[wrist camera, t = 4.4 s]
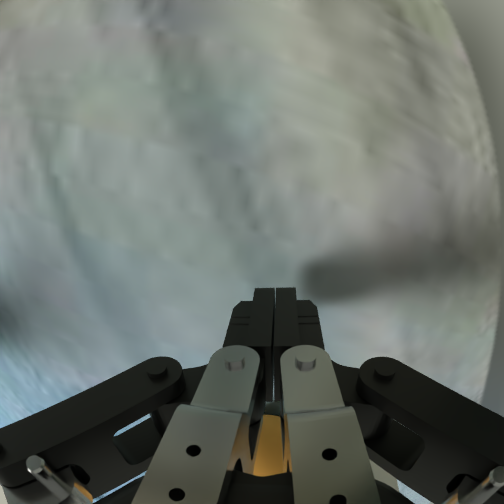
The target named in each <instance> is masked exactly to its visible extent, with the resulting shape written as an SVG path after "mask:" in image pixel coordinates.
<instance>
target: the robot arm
mask: <svg viewBox="0 0 504 504" xmlns="http://www.w3.org/2000/svg"><path fill="white" fill-rule="evenodd" d="M273 381H274V398H275V401H280V429H281V444H282V460H283V473H280V474H275V475H270V476H256V475H253V472H254V464H255V459H256V455H257V450H258V445H259V440H260V434H261V429H262V424H263V414H264V411H265V401H267V402H272V400H273ZM147 414H150V416H151V417H150V418H148V419H147V420H145V421H143V422H141V423H140V424H138V425H136V426H134V427H132V428H131V429H129V430H127V431H125V432H123V433H121V434H120V435H118V436H114V434H115V433H116V432H117V431H118V430H120V429H122V428H124V427H126V426H127V425H129V424H131V423H133V422H135V421H137V420H138V419H140V418H142V417H144V416H145V415H147ZM395 420H396V421H395ZM398 422H399V423H398ZM401 424H402V425H401ZM406 427H407V428H406ZM409 429H410V430H409ZM412 431H413V432H412ZM417 434H418V435H417ZM369 459H370V460H371V461H373V462H374V463H375V464H377V465H378V466H379V467H381V468H382V469H384V470H385V471H386V472H388V473H389V474H391V475H392V476H393V477H395V478H396V479H398V480H399V481H401V482H402V483H404V484H405V485H406V486H408V487H409V488H411V489H412V490H414V491H415V492H417V493H419V494H420V495H422V496H423V497H425V498H426V499H428V500H429V501H431V502H433V503H434V504H504V417H502V416H500V415H498V414H497V413H495V412H492V411H491V410H489V409H487V408H485V407H483V406H481V405H479V404H477V403H475V402H474V401H472V400H470V399H468V398H466V397H464V396H462V395H460V394H458V393H457V392H455V391H453V390H451V389H449V388H447V387H445V386H443V385H442V384H440V383H438V382H436V381H434V380H432V379H431V378H429V377H427V376H425V375H423V374H421V373H420V372H418V371H416V370H414V369H412V368H410V367H409V366H407V365H405V364H403V363H401V362H400V361H398V360H396V359H393V358H389V357H375V358H371V359H369V360H367V361H365V362H364V363H363V364H362V365H361V367H360V369H359V368H352V367H347V366H342V365H339V364H337V363H335V362H334V361H332V360H331V358H330V356H329V354H328V353H327V352H326V351H325V349H324V343H323V337H322V332H321V326H320V321H319V317H318V310H317V307H316V306H315V305H314V304H313V303H312V302H311V301H310V300H297V299H296V288H295V287H293V288H276V303H275V288H255V291H254V297H253V301H241V302H240V303H238V304H237V305H236V306H235V307H234V308H233V311H232V315H231V319H230V322H229V326H228V329H227V333H226V337H225V340H224V344H223V348H221V349H219V350H218V351H216V352H215V353H214V354H213V355H212V357H211V358H210V361H209V363H208V364H206V365H204V366H200V367H195V368H188V369H182V367H181V365H180V363H179V362H178V361H177V360H175V359H173V358H170V357H154V358H151V359H148V360H146V361H144V362H142V363H140V364H138V365H136V366H134V367H132V368H130V369H128V370H126V371H124V372H122V373H120V374H118V375H116V376H114V377H112V378H110V379H108V380H106V381H104V382H102V383H100V384H98V385H96V386H94V387H91V388H89V389H87V390H85V391H83V392H81V393H79V394H77V395H75V396H73V397H70V398H68V399H66V400H64V401H62V402H60V403H58V404H55V405H53V406H51V407H49V408H47V409H44V410H42V411H40V412H38V413H35V414H33V415H31V416H29V417H26V418H24V419H22V420H19V421H17V422H15V423H12V424H10V425H8V426H5V427H3V428H0V485H1V486H2V487H3V490H4V493H5V496H6V499H7V502H8V504H92V502H93V499H94V498H96V497H98V496H100V495H102V494H104V493H106V492H108V491H110V490H112V489H114V488H116V487H118V486H120V485H122V484H123V483H125V482H127V481H129V480H131V479H132V478H134V477H136V476H138V475H140V474H141V473H143V472H145V471H146V470H147V471H146V473H145V476H142V477H140V478H138V479H135V480H134V481H132V482H130V483H128V484H127V485H125V486H123V487H122V488H120V489H118V490H116V491H115V492H113V493H111V494H109V495H108V496H106V497H104V498H102V499H100V500H99V501H97V502H95V503H93V504H414V503H413V502H412V501H410V500H409V499H408V498H406V497H405V496H403V495H402V494H401V493H399V492H398V491H397V490H395V489H394V488H392V487H391V486H389V485H387V484H385V483H383V482H381V481H378V480H376V479H375V478H374V475H373V471H372V467H371V464H370V460H369Z"/></svg>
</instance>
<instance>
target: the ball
mask: <svg viewBox="0 0 504 504" xmlns="http://www.w3.org/2000/svg"><path fill="white" fill-rule="evenodd" d="M280 473H283V460H282V444H281V429H280V417H279V416H274V415H263V424H262V429H261V434H260V440H259V445H258V450H257V455H256V459H255V464H254V472H253V475H256V476H270V475H275V474H280Z"/></svg>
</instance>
